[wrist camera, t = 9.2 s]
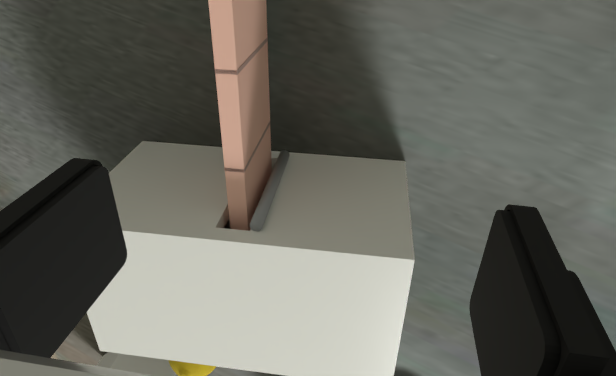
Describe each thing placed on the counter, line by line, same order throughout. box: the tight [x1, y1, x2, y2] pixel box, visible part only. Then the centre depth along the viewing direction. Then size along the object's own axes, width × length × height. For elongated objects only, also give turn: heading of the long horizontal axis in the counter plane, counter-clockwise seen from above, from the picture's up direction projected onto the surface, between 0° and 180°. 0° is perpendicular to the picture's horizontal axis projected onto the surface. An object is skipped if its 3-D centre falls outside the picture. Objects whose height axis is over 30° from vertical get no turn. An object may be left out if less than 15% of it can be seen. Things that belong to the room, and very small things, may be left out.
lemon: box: [168, 360, 216, 376], centre depth 45 cm, size 6×6×8 cm
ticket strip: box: [208, 0, 272, 231], centre depth 28 cm, size 18×1×8 cm, turn 179°
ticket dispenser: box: [87, 141, 415, 376], centre depth 35 cm, size 13×22×12 cm, turn 89°
